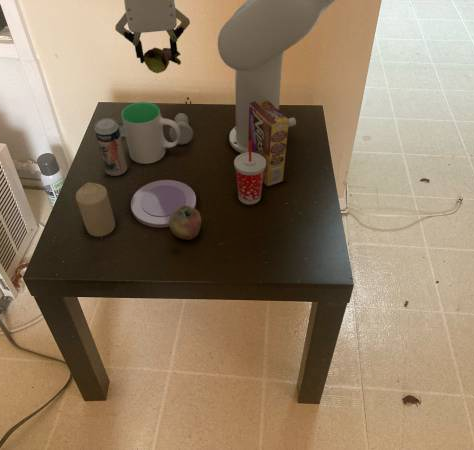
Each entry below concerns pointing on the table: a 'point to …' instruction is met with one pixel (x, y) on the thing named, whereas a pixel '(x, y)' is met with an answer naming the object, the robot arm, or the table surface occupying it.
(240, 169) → the beverage cup
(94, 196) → the candle
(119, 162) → the canister with white lid
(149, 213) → the dish
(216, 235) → the table surface
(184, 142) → the chess piece
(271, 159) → the candy box
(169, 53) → the toy
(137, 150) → the mug
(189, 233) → the apple
